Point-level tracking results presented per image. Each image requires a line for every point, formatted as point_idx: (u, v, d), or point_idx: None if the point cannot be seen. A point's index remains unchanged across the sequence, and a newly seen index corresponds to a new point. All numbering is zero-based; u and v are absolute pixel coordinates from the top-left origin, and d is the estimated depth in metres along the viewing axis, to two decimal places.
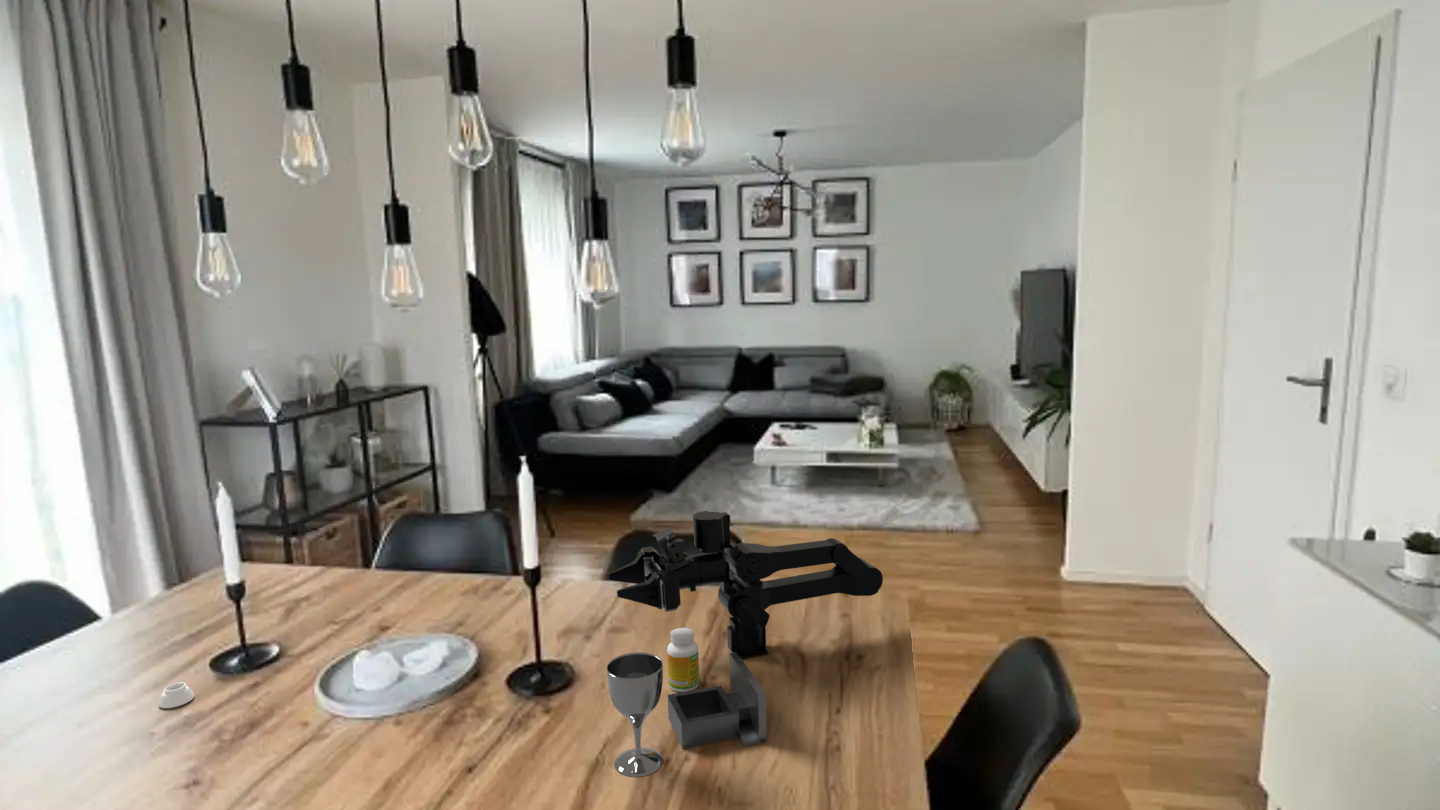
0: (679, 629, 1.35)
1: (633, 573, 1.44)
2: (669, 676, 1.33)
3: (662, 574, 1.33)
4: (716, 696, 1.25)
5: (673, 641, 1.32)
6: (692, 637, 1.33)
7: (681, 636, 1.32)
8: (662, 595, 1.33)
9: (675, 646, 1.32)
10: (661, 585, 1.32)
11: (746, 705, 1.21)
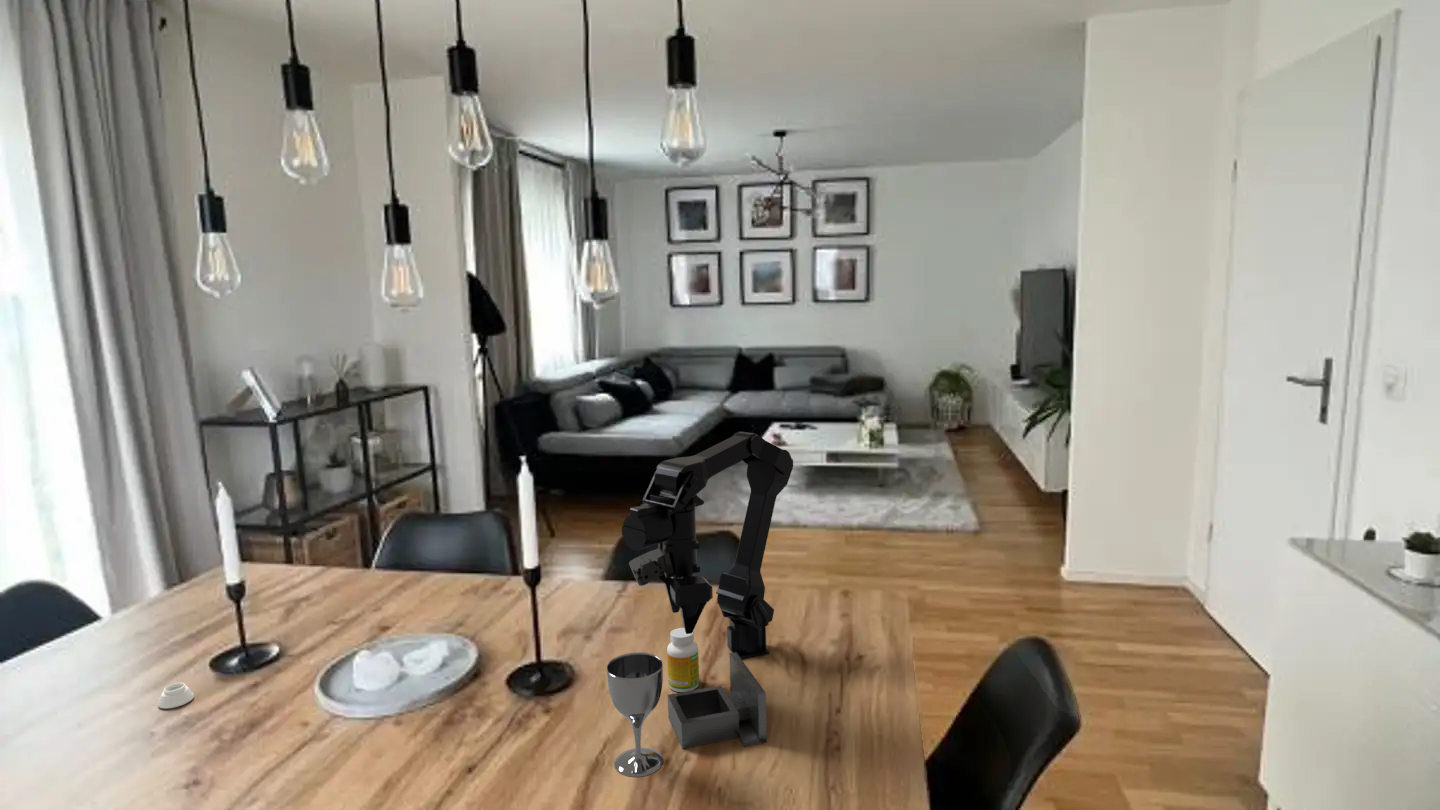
0: (679, 629, 1.35)
1: None
2: (669, 676, 1.33)
3: (673, 598, 1.24)
4: (716, 696, 1.25)
5: (673, 641, 1.32)
6: (692, 637, 1.33)
7: (681, 636, 1.32)
8: None
9: (675, 646, 1.32)
10: None
11: (746, 705, 1.21)
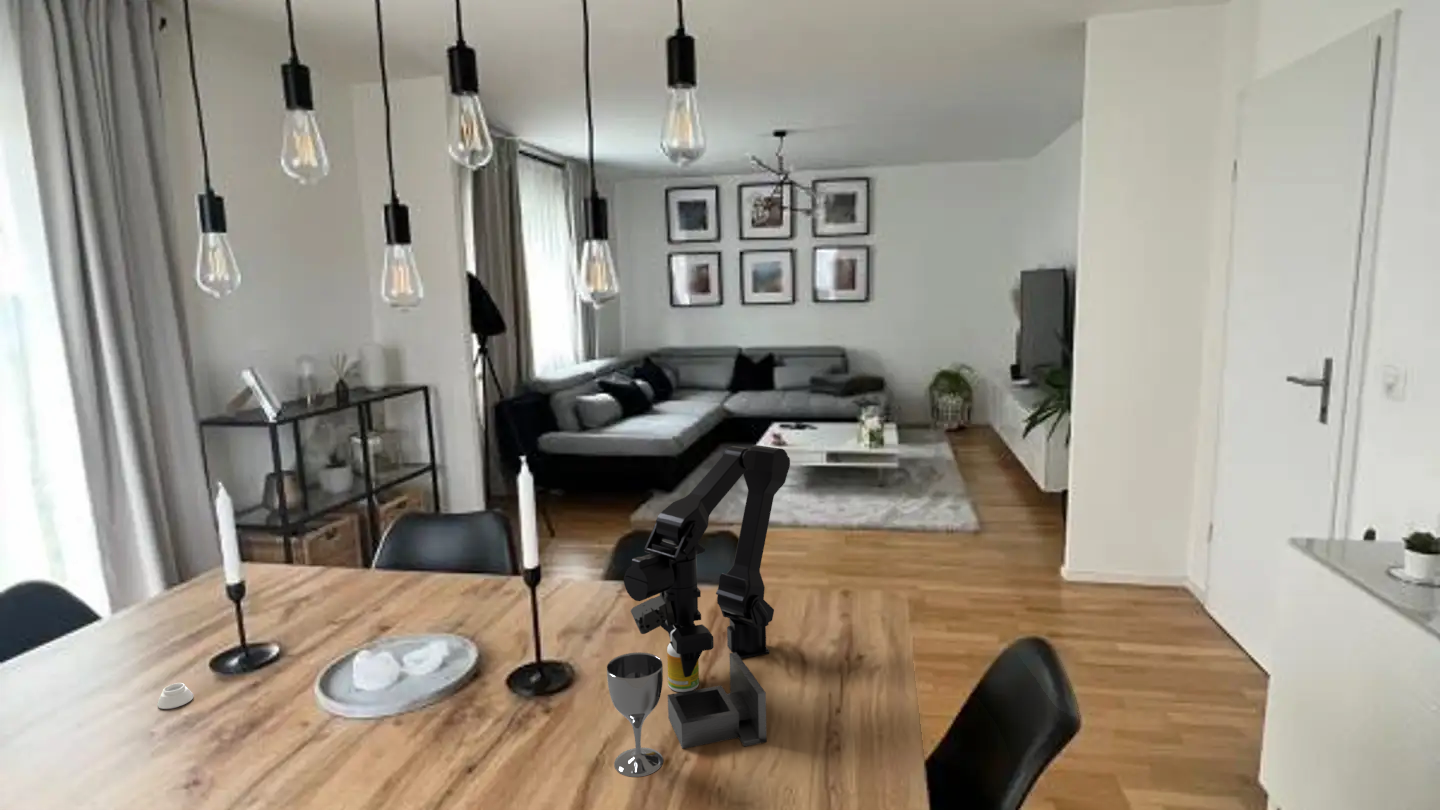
0: None
1: None
2: (669, 676, 1.33)
3: (674, 648, 1.26)
4: (716, 696, 1.25)
5: None
6: None
7: None
8: None
9: None
10: None
11: (746, 705, 1.21)
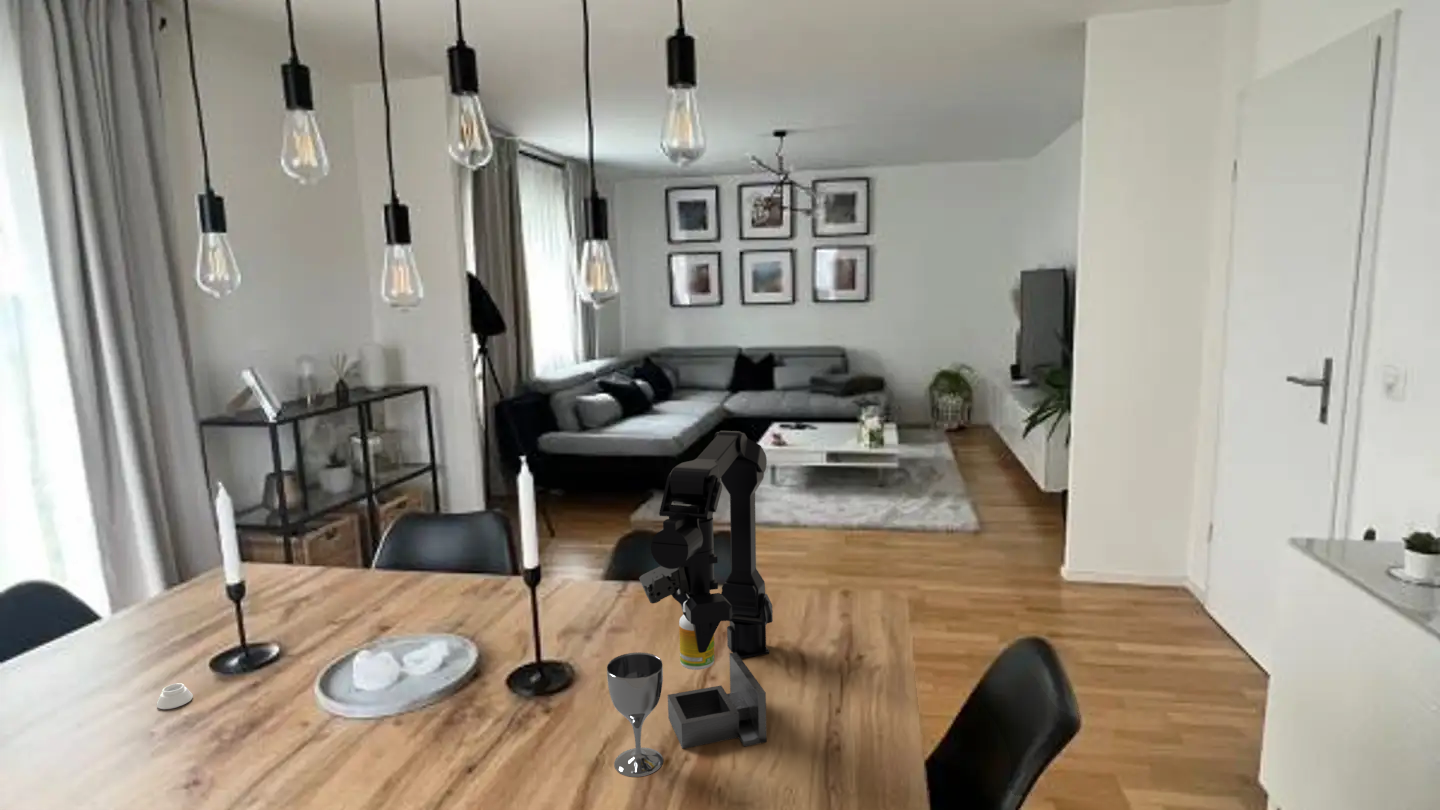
0: None
1: None
2: (681, 652, 1.20)
3: (688, 618, 1.12)
4: (716, 696, 1.25)
5: None
6: None
7: None
8: None
9: None
10: None
11: (746, 705, 1.21)
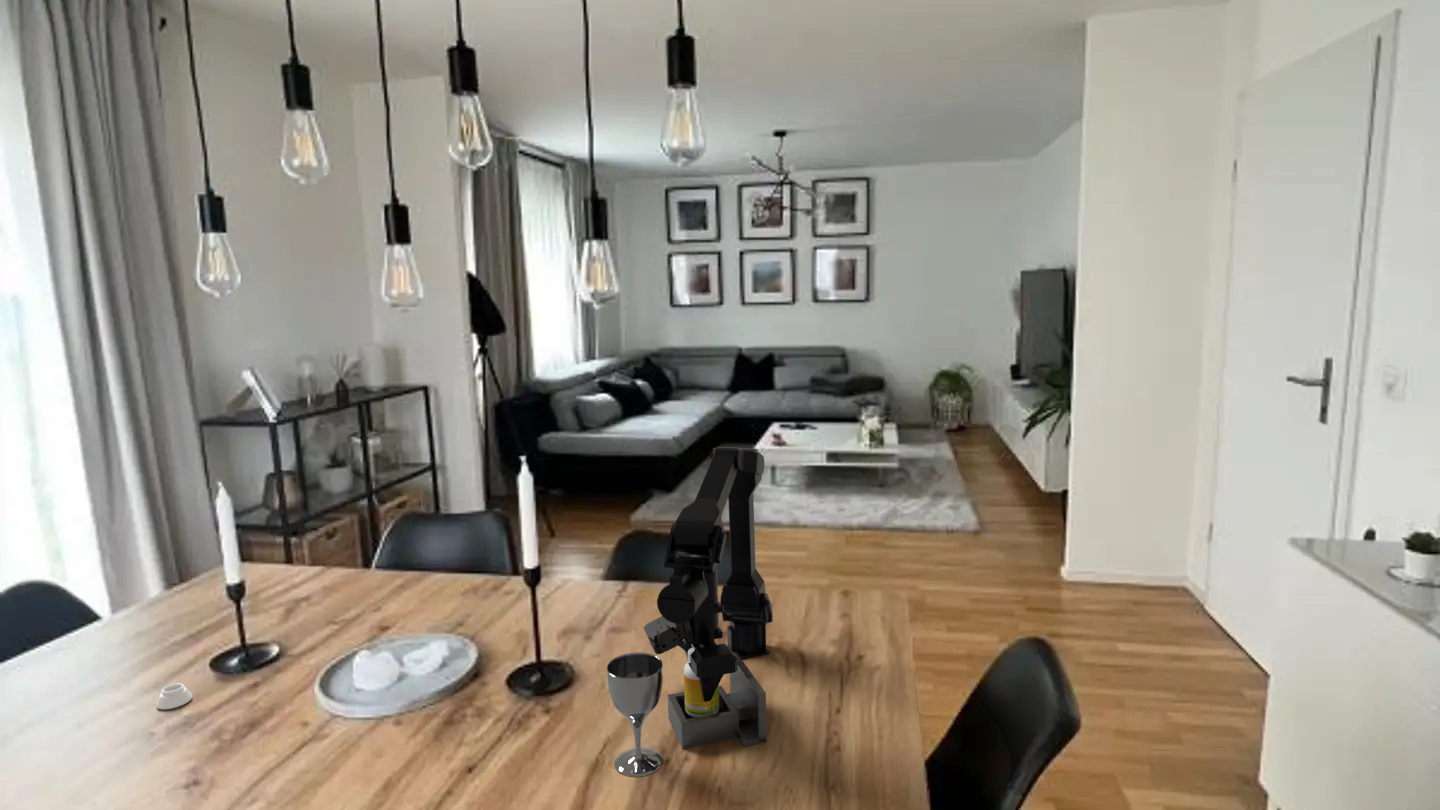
0: None
1: None
2: (686, 700, 1.20)
3: (694, 670, 1.12)
4: None
5: None
6: None
7: None
8: None
9: None
10: None
11: (746, 705, 1.21)
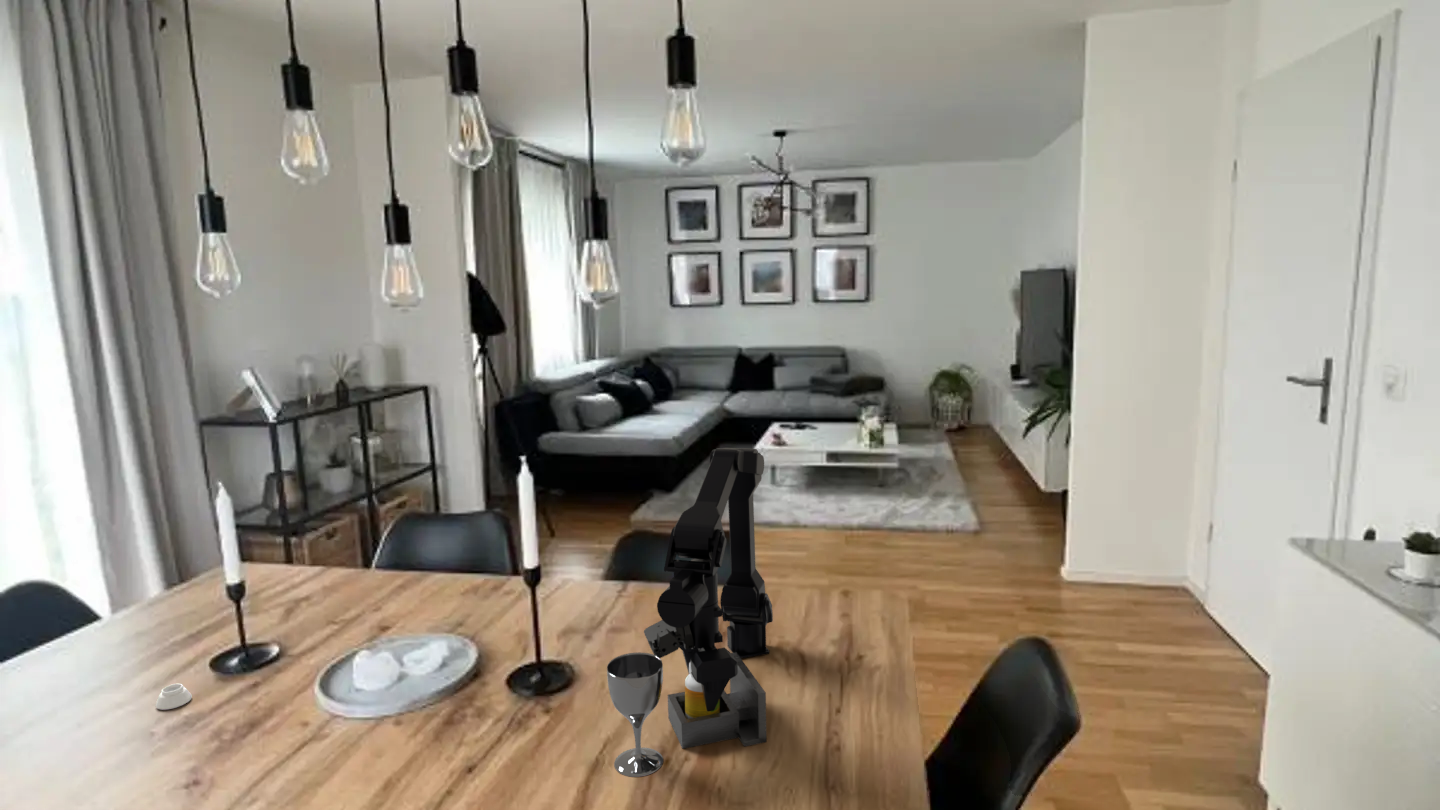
0: None
1: (695, 653, 1.25)
2: (687, 712, 1.20)
3: (694, 674, 1.12)
4: None
5: None
6: None
7: None
8: None
9: None
10: None
11: (746, 705, 1.21)
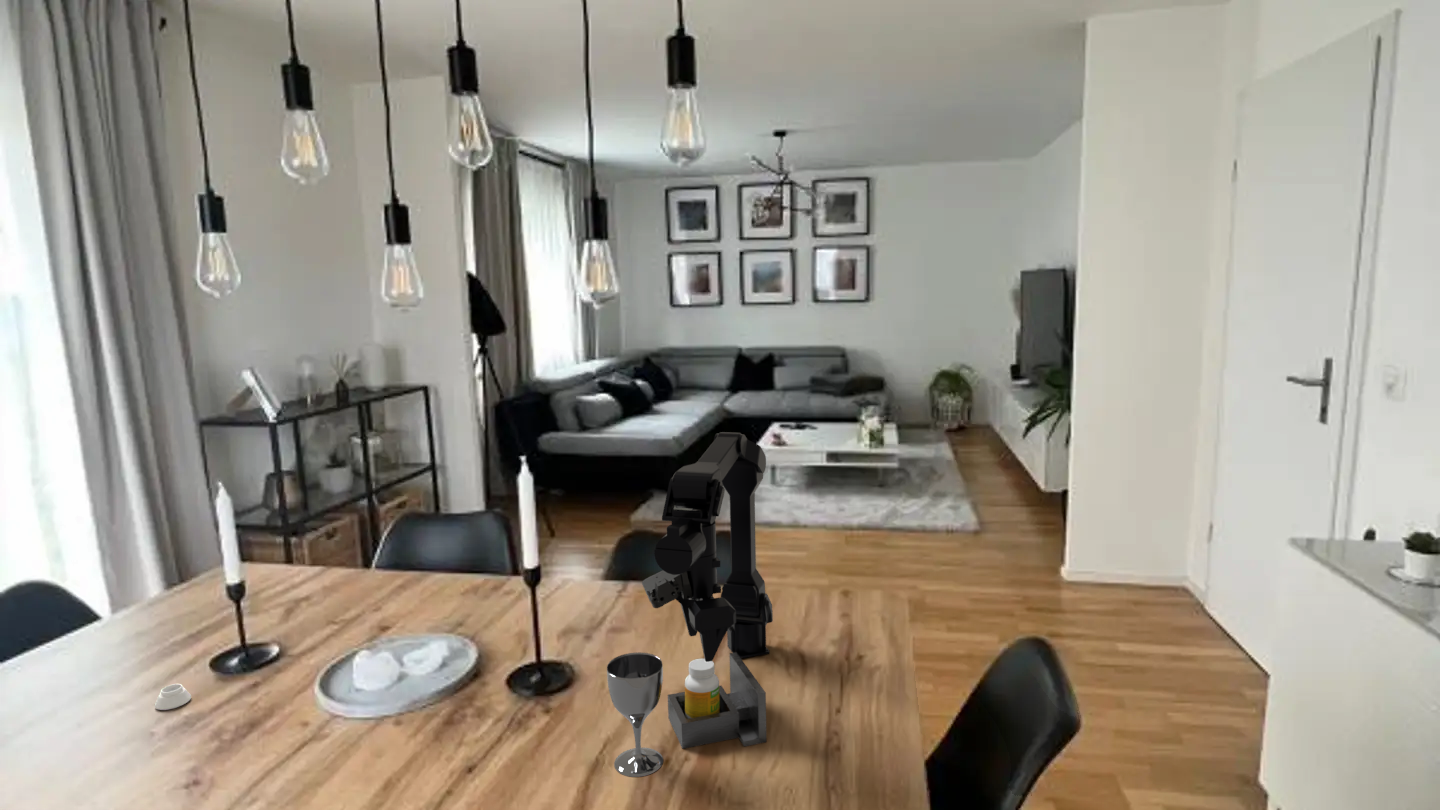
0: (698, 660, 1.21)
1: None
2: (687, 712, 1.20)
3: (692, 623, 1.12)
4: None
5: (692, 674, 1.19)
6: (713, 670, 1.19)
7: (701, 668, 1.19)
8: None
9: (693, 679, 1.19)
10: None
11: (746, 705, 1.21)
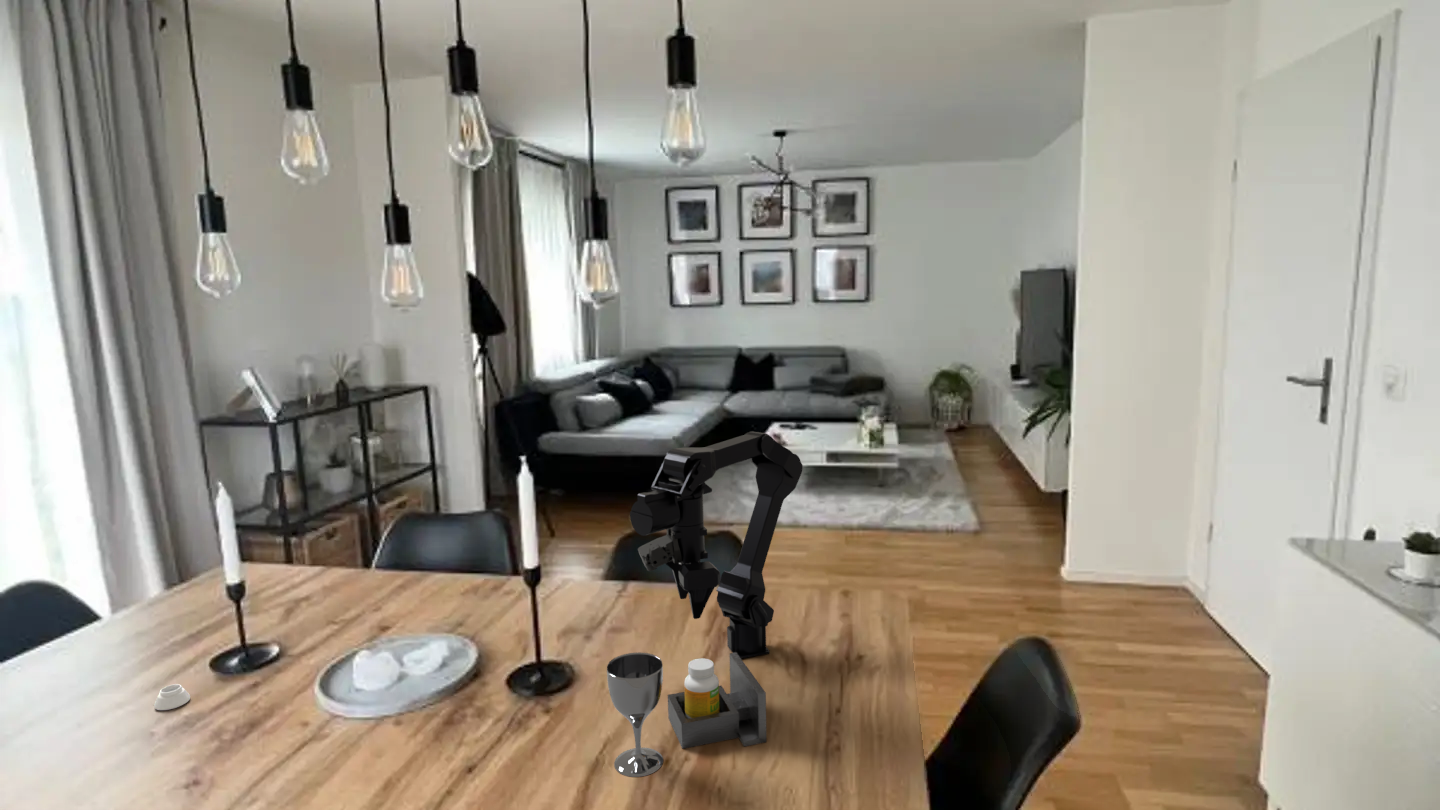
0: (698, 660, 1.21)
1: None
2: (686, 712, 1.20)
3: (681, 583, 1.27)
4: None
5: (691, 674, 1.19)
6: (712, 669, 1.19)
7: (700, 668, 1.19)
8: None
9: (693, 679, 1.19)
10: None
11: (746, 705, 1.21)
